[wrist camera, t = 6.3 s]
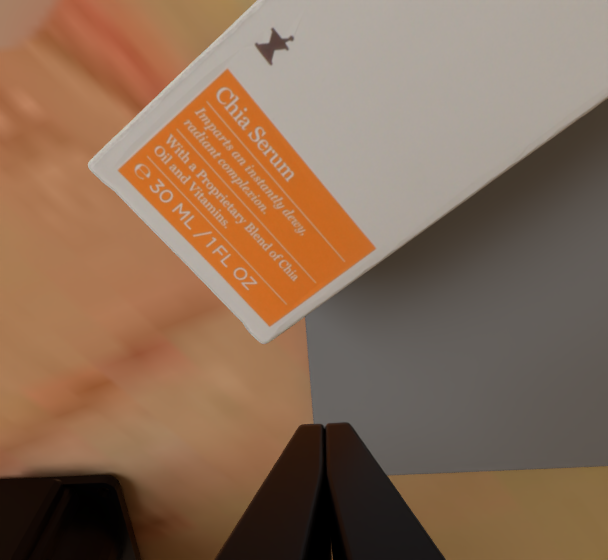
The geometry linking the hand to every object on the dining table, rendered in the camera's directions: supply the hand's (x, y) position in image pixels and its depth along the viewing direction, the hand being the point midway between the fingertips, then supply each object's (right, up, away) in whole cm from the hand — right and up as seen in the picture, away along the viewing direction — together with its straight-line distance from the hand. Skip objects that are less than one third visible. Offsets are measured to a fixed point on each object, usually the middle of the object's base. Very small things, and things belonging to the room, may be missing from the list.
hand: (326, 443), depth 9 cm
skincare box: (-3, +4, +5) cm, 7 cm away
